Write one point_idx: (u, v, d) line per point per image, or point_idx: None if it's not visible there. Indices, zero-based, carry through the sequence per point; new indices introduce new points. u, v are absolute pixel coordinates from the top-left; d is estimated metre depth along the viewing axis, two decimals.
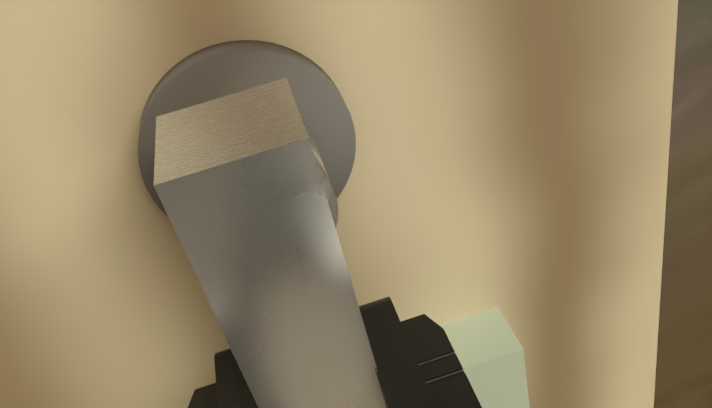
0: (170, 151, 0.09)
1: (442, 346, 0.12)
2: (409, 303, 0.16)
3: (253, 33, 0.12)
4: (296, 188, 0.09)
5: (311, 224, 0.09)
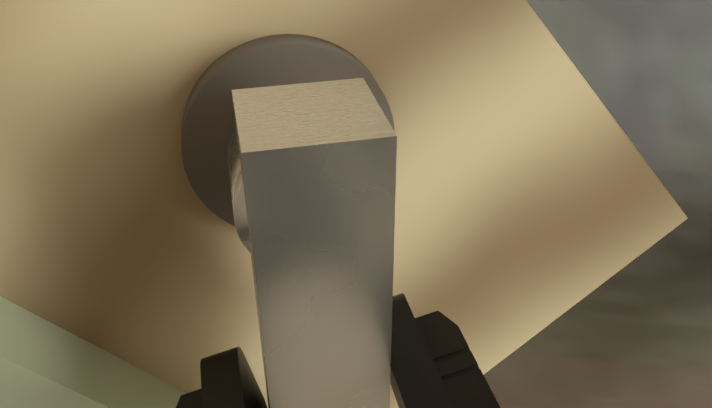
0: (253, 124, 0.09)
1: (456, 342, 0.12)
2: (192, 353, 0.16)
3: (385, 88, 0.13)
4: (371, 183, 0.09)
5: (373, 220, 0.09)
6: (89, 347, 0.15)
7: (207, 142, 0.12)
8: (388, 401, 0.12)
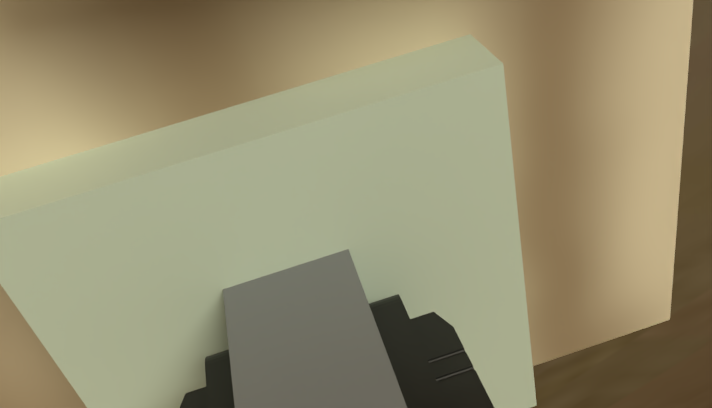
0: None
1: (452, 343, 0.12)
2: (343, 12, 0.12)
3: None
4: None
5: None
6: (253, 103, 0.12)
7: None
8: None
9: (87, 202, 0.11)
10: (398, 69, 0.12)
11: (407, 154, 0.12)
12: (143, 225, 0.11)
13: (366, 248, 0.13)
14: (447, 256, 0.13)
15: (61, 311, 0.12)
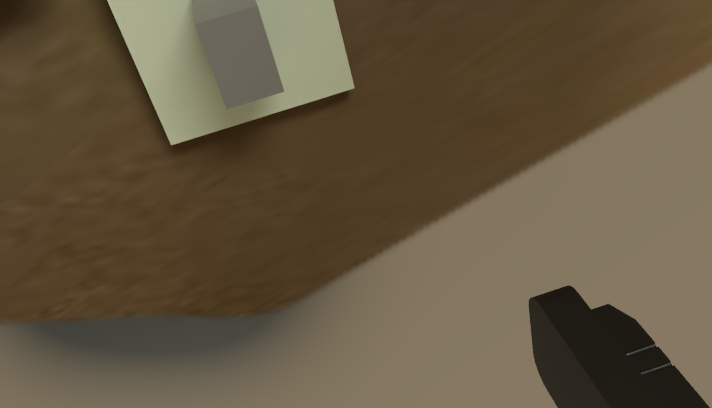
0: None
1: (640, 338, 0.11)
2: None
3: None
4: None
5: None
6: None
7: None
8: None
9: None
10: None
11: None
12: None
13: None
14: None
15: None
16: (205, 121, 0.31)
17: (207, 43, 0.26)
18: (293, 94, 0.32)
